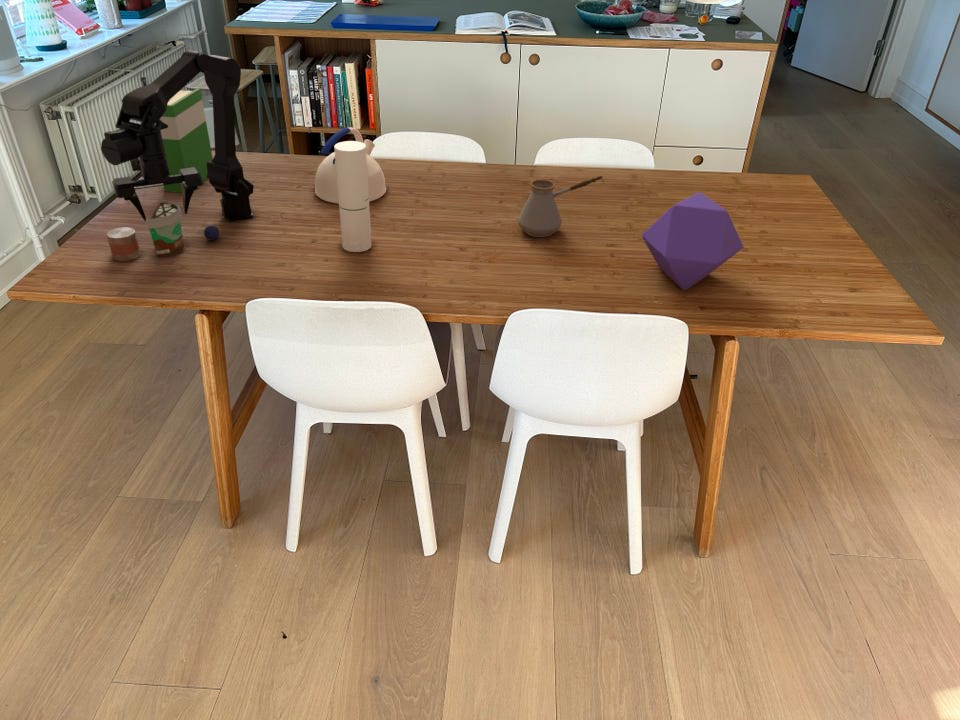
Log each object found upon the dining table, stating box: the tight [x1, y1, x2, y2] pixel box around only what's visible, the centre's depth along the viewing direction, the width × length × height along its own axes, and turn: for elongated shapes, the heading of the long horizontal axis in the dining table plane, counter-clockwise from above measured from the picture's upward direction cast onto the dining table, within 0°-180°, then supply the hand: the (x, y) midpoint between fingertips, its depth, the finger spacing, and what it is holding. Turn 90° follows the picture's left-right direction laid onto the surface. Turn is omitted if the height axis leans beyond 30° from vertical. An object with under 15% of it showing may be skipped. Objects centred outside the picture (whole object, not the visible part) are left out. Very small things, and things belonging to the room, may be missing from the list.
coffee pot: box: [517, 175, 605, 238], centre depth 190 cm, size 21×12×15 cm, turn 94°
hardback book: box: [160, 88, 214, 193], centre depth 209 cm, size 18×7×24 cm, turn 174°
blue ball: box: [203, 225, 220, 241], centre depth 183 cm, size 4×4×4 cm
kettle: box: [314, 127, 387, 205], centre depth 208 cm, size 20×21×18 cm
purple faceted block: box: [641, 191, 744, 291], centre depth 170 cm, size 22×20×20 cm
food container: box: [146, 199, 185, 258], centre depth 177 cm, size 12×6×10 cm, turn 6°
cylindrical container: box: [333, 140, 372, 253], centre depth 177 cm, size 7×7×25 cm
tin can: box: [106, 226, 141, 262], centre depth 174 cm, size 6×6×6 cm
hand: (165, 216), depth 176 cm, fingers open, 9 cm apart
